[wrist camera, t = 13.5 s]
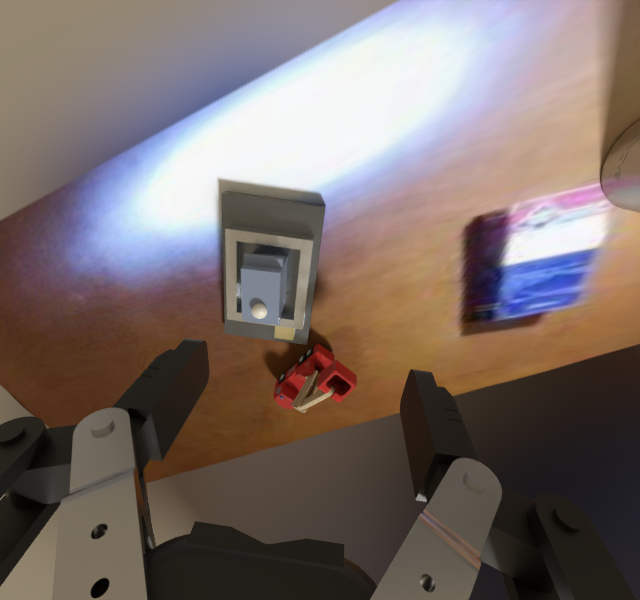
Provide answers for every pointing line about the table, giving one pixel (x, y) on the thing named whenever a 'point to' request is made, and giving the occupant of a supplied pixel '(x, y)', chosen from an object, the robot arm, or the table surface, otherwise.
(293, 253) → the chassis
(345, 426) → the table surface
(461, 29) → the table surface
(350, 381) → the toy fire truck
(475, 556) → the robot arm
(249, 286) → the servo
